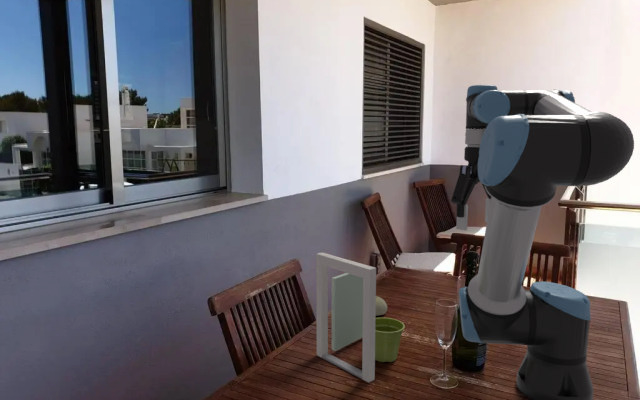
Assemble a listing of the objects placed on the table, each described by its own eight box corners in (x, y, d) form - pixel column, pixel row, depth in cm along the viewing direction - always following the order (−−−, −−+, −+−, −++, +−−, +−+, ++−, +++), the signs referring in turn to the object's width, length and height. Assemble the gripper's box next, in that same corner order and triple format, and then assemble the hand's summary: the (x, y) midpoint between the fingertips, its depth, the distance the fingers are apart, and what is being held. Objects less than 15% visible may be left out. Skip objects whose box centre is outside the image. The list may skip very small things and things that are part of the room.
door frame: (374, 379, 114) (376, 267, 110) (368, 382, 113) (369, 269, 109) (322, 352, 128) (322, 252, 124) (316, 355, 126) (316, 253, 122)
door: (359, 332, 138) (360, 265, 135) (367, 334, 136) (368, 267, 133) (327, 348, 128) (327, 276, 125) (335, 351, 126) (335, 278, 123)
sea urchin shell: (389, 301, 159) (387, 290, 153) (387, 325, 154) (384, 314, 148) (361, 298, 161) (358, 287, 155) (357, 321, 157) (354, 311, 151)
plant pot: (379, 345, 132) (379, 314, 130) (410, 356, 126) (411, 323, 124) (358, 358, 125) (358, 325, 123) (391, 370, 119) (391, 335, 117)
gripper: (492, 144, 141) (488, 217, 144) (439, 147, 125) (436, 230, 128) (517, 144, 135) (513, 221, 139) (465, 148, 119) (461, 235, 123)
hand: (476, 226), depth 133 cm, fingers open, 13 cm apart
